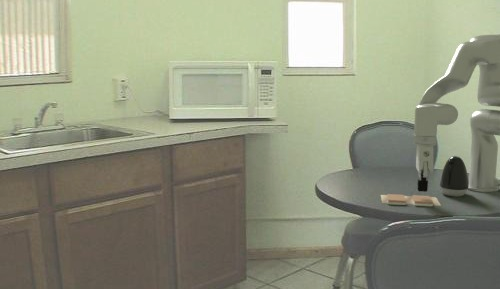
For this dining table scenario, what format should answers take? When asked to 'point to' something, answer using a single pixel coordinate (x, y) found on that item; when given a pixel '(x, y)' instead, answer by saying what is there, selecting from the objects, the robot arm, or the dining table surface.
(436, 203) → the cork mat
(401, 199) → the tile
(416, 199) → the tile
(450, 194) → the black rounded dome
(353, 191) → the dining table surface
